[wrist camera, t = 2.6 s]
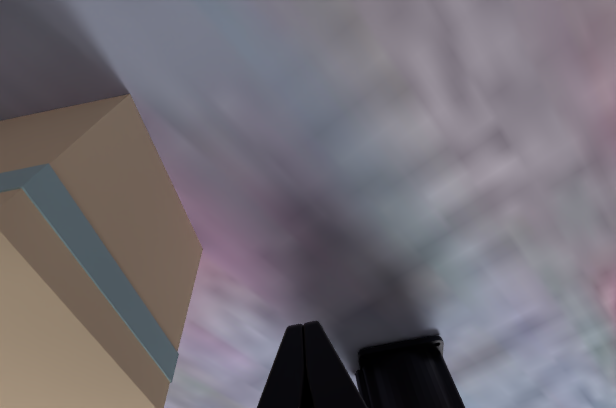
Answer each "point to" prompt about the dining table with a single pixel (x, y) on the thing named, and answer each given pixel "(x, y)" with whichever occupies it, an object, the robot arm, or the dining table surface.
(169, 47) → the dining table surface
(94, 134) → the carton
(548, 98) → the dining table surface
